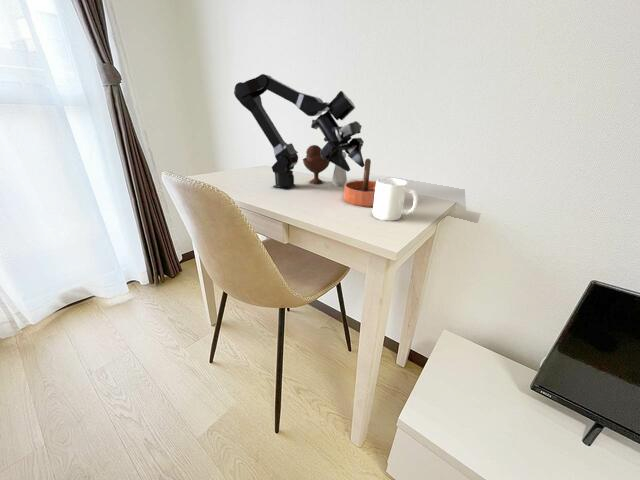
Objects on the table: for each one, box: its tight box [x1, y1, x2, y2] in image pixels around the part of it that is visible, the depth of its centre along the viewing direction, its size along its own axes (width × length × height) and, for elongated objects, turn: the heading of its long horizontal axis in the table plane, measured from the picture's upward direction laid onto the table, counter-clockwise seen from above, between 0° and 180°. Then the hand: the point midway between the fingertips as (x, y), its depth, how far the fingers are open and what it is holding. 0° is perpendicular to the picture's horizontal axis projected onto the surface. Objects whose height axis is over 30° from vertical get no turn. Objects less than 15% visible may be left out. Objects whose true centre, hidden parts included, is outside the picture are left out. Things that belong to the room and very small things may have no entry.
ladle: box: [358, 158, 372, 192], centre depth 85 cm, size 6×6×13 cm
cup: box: [372, 177, 419, 222], centre depth 72 cm, size 8×12×10 cm
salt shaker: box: [332, 151, 348, 187], centre depth 102 cm, size 6×6×13 cm
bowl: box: [342, 179, 376, 208], centre depth 87 cm, size 14×14×5 cm
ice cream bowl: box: [302, 144, 331, 185], centre depth 105 cm, size 11×11×15 cm
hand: (356, 168), depth 86 cm, fingers open, 9 cm apart
